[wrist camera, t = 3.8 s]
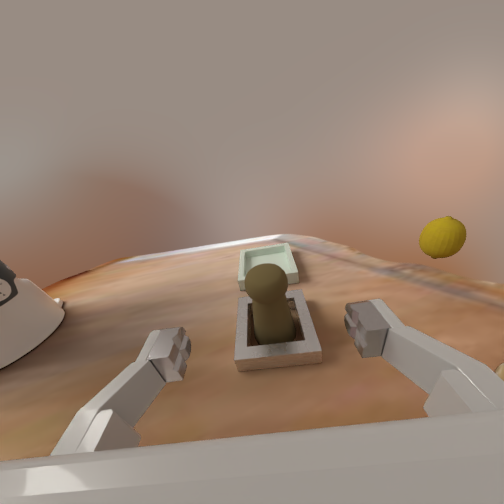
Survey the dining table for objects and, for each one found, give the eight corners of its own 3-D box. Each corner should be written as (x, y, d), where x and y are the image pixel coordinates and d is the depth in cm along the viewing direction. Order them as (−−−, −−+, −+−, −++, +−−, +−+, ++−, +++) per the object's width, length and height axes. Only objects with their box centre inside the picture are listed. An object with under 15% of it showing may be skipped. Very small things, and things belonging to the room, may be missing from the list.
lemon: (454, 253, 35) (472, 211, 31) (456, 270, 31) (477, 225, 27) (415, 247, 38) (426, 209, 34) (413, 262, 35) (425, 221, 31)
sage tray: (240, 290, 36) (237, 280, 35) (242, 259, 46) (240, 250, 45) (299, 282, 36) (298, 272, 34) (288, 251, 45) (288, 242, 44)
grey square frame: (238, 371, 24) (234, 360, 23) (241, 308, 33) (238, 297, 31) (321, 362, 23) (322, 350, 22) (302, 300, 32) (301, 289, 31)
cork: (278, 308, 31) (269, 251, 26) (305, 333, 27) (302, 270, 21) (246, 328, 29) (229, 271, 23) (270, 360, 24) (256, 298, 19)
